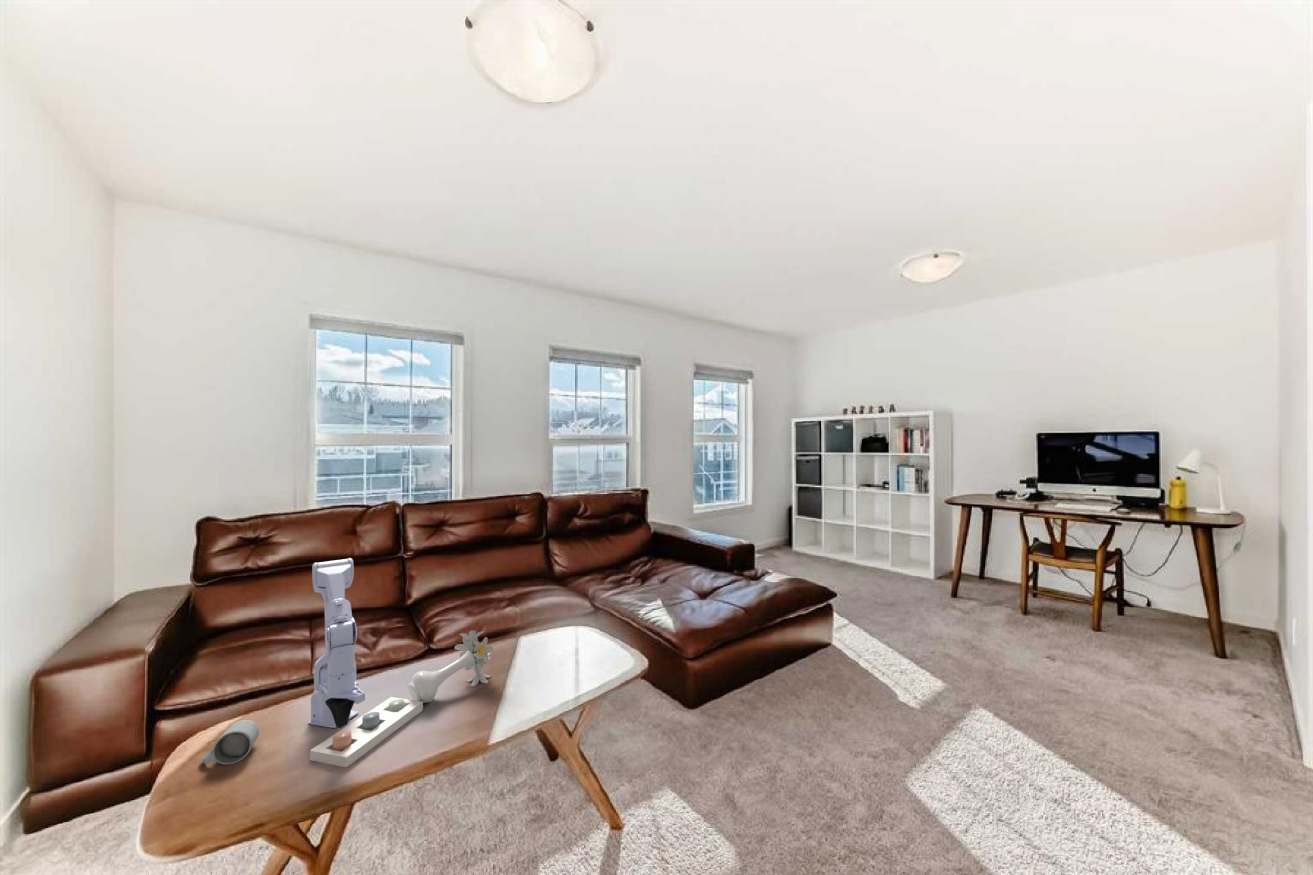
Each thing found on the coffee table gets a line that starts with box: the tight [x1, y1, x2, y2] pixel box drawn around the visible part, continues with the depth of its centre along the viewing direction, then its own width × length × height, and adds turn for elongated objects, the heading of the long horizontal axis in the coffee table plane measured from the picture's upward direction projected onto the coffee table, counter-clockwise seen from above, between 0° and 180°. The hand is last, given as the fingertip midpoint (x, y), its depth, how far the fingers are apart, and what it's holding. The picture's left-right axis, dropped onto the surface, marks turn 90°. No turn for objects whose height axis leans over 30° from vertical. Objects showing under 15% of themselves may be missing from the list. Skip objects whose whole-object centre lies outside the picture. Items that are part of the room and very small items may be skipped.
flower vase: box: [407, 630, 494, 704], centre depth 158 cm, size 13×18×25 cm
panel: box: [309, 696, 424, 768], centre depth 135 cm, size 11×26×2 cm, turn 165°
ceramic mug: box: [201, 719, 260, 765], centre depth 126 cm, size 11×8×8 cm
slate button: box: [361, 712, 380, 731], centre depth 135 cm, size 4×4×3 cm
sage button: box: [388, 698, 404, 712], centre depth 144 cm, size 4×4×3 cm
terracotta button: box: [332, 731, 352, 752], centre depth 126 cm, size 4×4×3 cm
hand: (341, 725), depth 126 cm, fingers closed
